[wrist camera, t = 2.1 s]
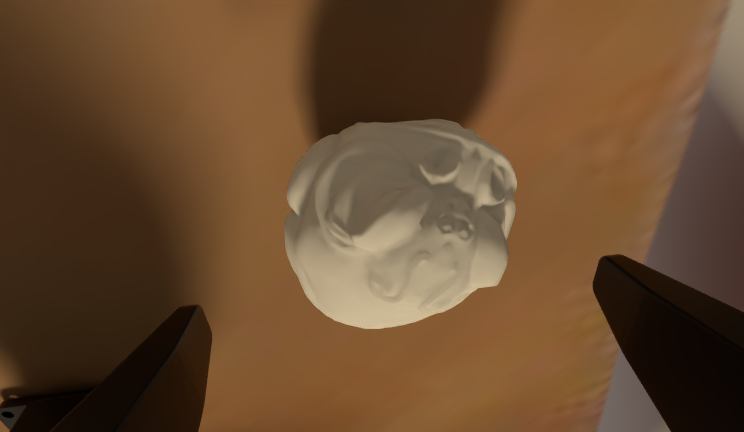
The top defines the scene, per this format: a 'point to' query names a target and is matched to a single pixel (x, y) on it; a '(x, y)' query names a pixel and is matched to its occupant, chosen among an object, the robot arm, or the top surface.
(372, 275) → the frog figurine
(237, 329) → the top surface
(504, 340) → the top surface
